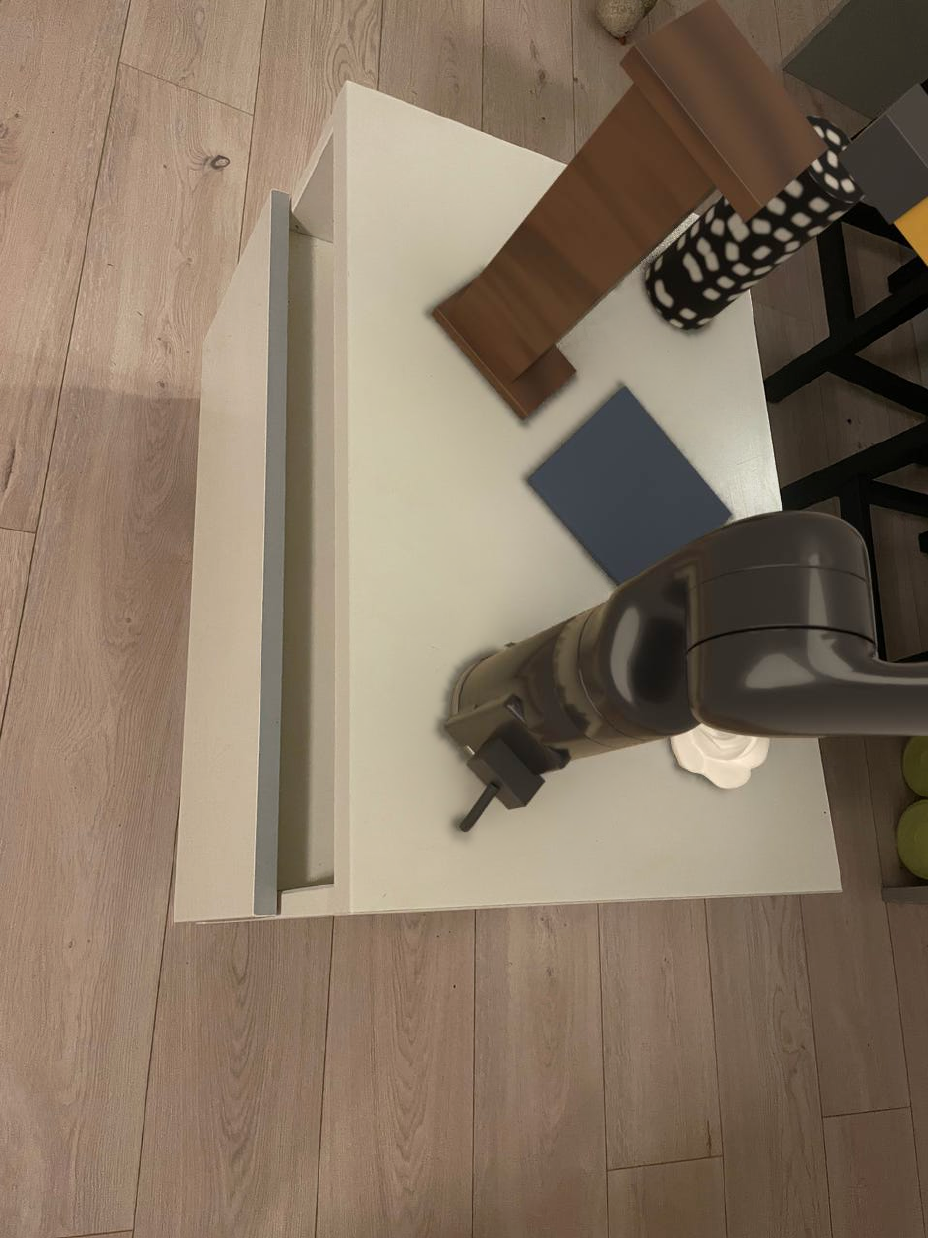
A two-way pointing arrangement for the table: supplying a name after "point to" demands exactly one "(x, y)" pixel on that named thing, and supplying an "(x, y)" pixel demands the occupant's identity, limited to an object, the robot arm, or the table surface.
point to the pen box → (896, 166)
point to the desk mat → (627, 490)
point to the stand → (631, 196)
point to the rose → (720, 755)
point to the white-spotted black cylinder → (749, 239)
